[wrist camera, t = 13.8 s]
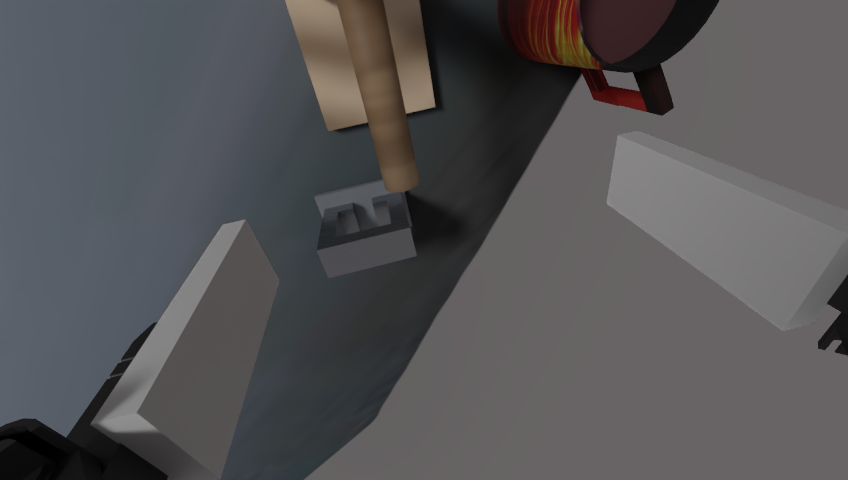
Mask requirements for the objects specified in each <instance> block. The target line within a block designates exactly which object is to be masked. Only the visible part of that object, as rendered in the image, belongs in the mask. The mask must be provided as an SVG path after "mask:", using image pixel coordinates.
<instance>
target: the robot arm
mask: <svg viewBox="0 0 848 480" xmlns="http://www.w3.org/2000/svg"><path fill="white" fill-rule="evenodd" d="M607 204H608V205H609V206H610V207H612V208H613V209H615V210H616V211H617V212H619V213H620V214H622V215H623V216H624V217H626V218H627V219H628V220H630V221H631V222H633V223H634V224H635V225H637V226H638V227H640V228H641V229H643V230H644V231H645V232H646V233H648V234H649V235H651V236H652V237H653V238H655V239H656V240H658V241H659V242H660V243H662V244H663V245H665V246H666V247H667V248H669V249H670V250H671V251H673V252H674V253H676V254H677V255H678V256H680V257H681V258H683V259H684V260H685V261H687V262H688V263H689V264H691V265H692V266H694V267H695V268H696V269H698V270H699V271H701V272H702V273H703V274H705V275H706V276H707V277H709V278H710V279H712V280H713V281H715V282H716V283H717V284H718V285H720V286H721V287H723V288H724V289H726V290H727V291H728V292H730V293H731V294H733V295H734V296H735V297H737V298H738V299H739V300H741V301H742V302H744V303H745V304H746V305H748V306H749V307H750V308H752V309H753V310H754V311H756V312H757V313H759V314H760V315H761V316H763V317H764V318H766V319H767V320H768V321H770V322H771V323H773V324H774V325H775V326H777V327H778V328H779V329H781V330H782V331H786V330H789V329H793V328H797V327H800V326H805V325H808V324H812V323H814V321H815V320H816V319H817V317H818V316H819V315H820V313H821V312H822V311H823V309H824V308H825V307H826V305H827V304H829V305H831V306H832V307H834V308H835V309H837V310H839V311H840V312H841V314H840V315H839V316H838V317H837V319H836V320H835V321H834V323H833V324H832V325H831V326H830V327H829V329H828V330H827V331H826V333H825V334H824V335H823V336H822V338H821V339H820V340H819V341H818V349H823V350H825V349H826V348H827V347H828V346H829V345H830V343H831V342H832V341H833V340H841V341H842V343H841V344H840V345H839V346H838V348H837V349H836V350H835V352H836V353H840V354H844V355H848V211H847V210H845V209H842V208H839V207H837V206H835V205H832V204H829V203H827V202H824V201H821V200H819V199H816V198H814V197H811V196H808V195H806V194H803V193H800V192H798V191H795V190H792V189H790V188H787V187H785V186H782V185H780V184H777V183H774V182H772V181H769V180H766V179H764V178H761V177H758V176H756V175H753V174H751V173H748V172H745V171H743V170H740V169H737V168H735V167H732V166H730V165H727V164H724V163H722V162H719V161H717V160H714V159H711V158H709V157H706V156H704V155H701V154H698V153H696V152H693V151H690V150H688V149H685V148H682V147H680V146H677V145H674V144H672V143H669V142H667V141H664V140H661V139H659V138H656V137H654V136H651V135H648V134H646V133H643V132H641V131H635V132H630V133H626V134H621V135H618V138H617V144H616V150H615V156H614V162H613V168H612V174H611V179H610V186H609V191H608V198H607ZM278 284H279V279H278V277H277V275H276V274H275V272H274V270H273V268H272V266H271V265H270V263H269V261H268V259H267V257H266V255H265V254H264V252H263V250H262V248H261V246H260V245H259V243H258V241H257V239H256V237H255V236H254V234H253V232H252V230H251V228H250V226H249V225H248V223H247V221H246V220H241V221H237V222H233V223H228V224H224V225H222V226H221V228H220V229H219V231H218V233H217V234H216V236H215V237H214V239H213V240H212V242H211V243H210V245H209V246H208V248H207V249H206V251H205V252H204V254H203V255H202V257H201V258H200V260H199V261H198V263H197V264H196V266H195V267H194V269H193V270H192V272H191V273H190V275H189V276H188V278H187V279H186V281H185V282H184V284H183V285H182V287H181V288H180V290H179V291H178V293H177V294H176V296H175V297H174V299H173V300H172V302H171V303H170V305H169V306H168V308H167V309H166V311H165V312H164V314H163V315H162V317H161V318H160V320H159V321H158V322H156V323H153V324H152V325H151V326H150V327H148V328H147V329H146V330H145V331H144V332H143V333H142V334H141V335H140V336H139V337H138V338H137V339H136V340H134V342H133V343H132V344H131V346H130V347H129V349H128V350H127V352H126V353H125V354H124V356H123V357H122V359H121V360H122V362H121V363H118V364H117V366H116V367H115V369H114V370H113V372H112V373H111V374H110V376H111V378H110V379H107V380H106V382H105V383H104V384H103V386H102V387H101V389H100V390H99V392H98V393H97V394H96V396H95V397H94V399H93V400H92V402H91V403H90V404H89V406H88V407H87V409H86V410H85V412H84V413H83V414H82V416H81V417H80V419H79V420H78V422H77V423H76V424H75V426H74V427H73V429H72V430H71V432H70V433H69V434H68V436H67V437H66V438H65V437H64V436H62V435H61V434H59V433H57V432H56V431H54V430H52V429H51V428H49V427H48V426H46V425H44V424H43V423H41V422H40V421H38V420H36V419H20V420H17V421H14V422H11V423H8V424H5V425H4V426H2V427H0V480H167V478H169V479H171V480H219V479H220V478H221V475H222V472H223V468H224V465H225V462H226V458H227V455H228V452H229V448H230V445H231V442H232V438H233V435H234V432H235V428H236V425H237V422H238V418H239V415H240V411H241V408H242V405H243V401H244V398H245V395H246V391H247V388H248V385H249V381H250V378H251V375H252V371H253V368H254V365H255V361H256V358H257V355H258V351H259V348H260V344H261V341H262V338H263V334H264V331H265V328H266V324H267V321H268V318H269V314H270V311H271V308H272V304H273V301H274V298H275V294H276V291H277V288H278Z"/></svg>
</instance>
